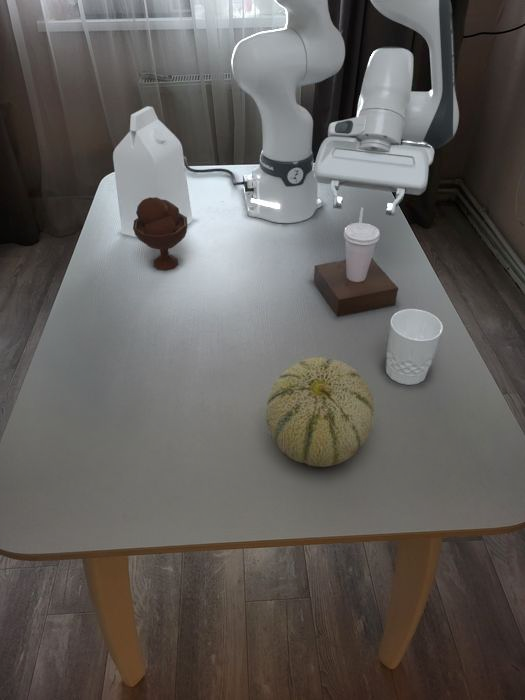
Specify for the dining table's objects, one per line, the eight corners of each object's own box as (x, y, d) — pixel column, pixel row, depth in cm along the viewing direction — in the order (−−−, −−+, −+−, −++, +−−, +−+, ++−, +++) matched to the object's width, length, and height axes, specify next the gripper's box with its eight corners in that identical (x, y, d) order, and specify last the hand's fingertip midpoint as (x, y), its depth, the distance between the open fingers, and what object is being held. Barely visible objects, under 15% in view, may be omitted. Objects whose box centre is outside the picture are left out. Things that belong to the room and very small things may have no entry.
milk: (151, 211, 135) (135, 98, 118) (192, 220, 131) (182, 106, 114) (122, 233, 127) (100, 116, 110) (165, 244, 123) (149, 124, 106)
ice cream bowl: (183, 280, 112) (175, 212, 103) (131, 274, 114) (119, 206, 104) (198, 253, 120) (192, 187, 110) (149, 247, 122) (139, 182, 112)
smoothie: (347, 264, 110) (355, 197, 100) (378, 272, 107) (389, 205, 98) (333, 279, 105) (340, 212, 96) (365, 289, 103) (375, 221, 94)
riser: (313, 282, 112) (314, 265, 109) (367, 272, 115) (369, 255, 112) (337, 317, 103) (339, 299, 101) (395, 305, 106) (398, 288, 103)
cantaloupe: (339, 398, 88) (349, 323, 78) (386, 469, 77) (404, 394, 67) (251, 422, 84) (249, 347, 74) (287, 501, 73) (291, 426, 63)
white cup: (372, 362, 94) (381, 315, 87) (412, 350, 96) (423, 304, 89) (398, 393, 88) (409, 345, 82) (439, 380, 90) (453, 332, 84)
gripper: (434, 150, 101) (420, 224, 101) (323, 138, 105) (309, 209, 105) (438, 134, 95) (424, 213, 94) (320, 122, 99) (306, 197, 98)
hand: (363, 211), depth 99 cm, fingers open, 8 cm apart
